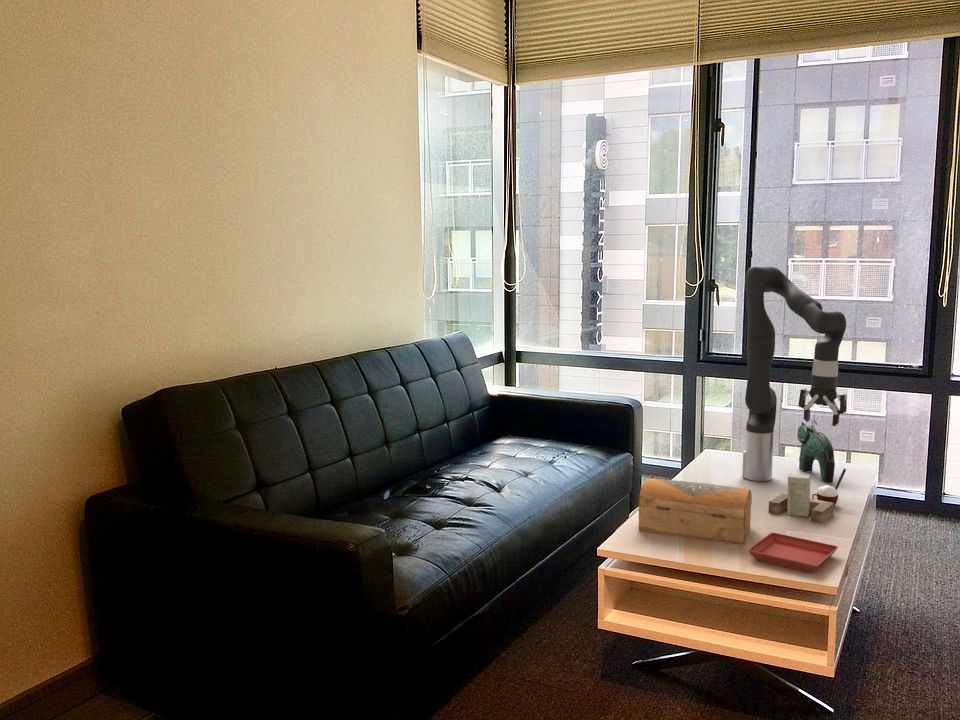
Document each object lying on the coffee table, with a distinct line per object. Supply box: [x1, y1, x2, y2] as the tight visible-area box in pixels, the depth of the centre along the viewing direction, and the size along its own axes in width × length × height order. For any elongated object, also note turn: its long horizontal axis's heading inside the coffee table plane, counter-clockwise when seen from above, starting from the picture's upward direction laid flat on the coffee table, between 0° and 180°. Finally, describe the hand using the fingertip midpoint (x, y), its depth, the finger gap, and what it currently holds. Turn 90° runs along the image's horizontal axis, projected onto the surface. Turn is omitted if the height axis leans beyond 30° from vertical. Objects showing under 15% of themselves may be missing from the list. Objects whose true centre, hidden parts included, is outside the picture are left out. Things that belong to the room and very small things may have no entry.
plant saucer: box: [747, 532, 839, 574], centre depth 216 cm, size 18×18×3 cm
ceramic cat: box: [796, 419, 836, 484], centre depth 292 cm, size 20×6×20 cm, turn 6°
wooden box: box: [638, 477, 753, 546], centre depth 238 cm, size 30×16×14 cm, turn 65°
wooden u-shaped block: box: [768, 493, 835, 524], centre depth 252 cm, size 16×11×4 cm
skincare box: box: [786, 473, 811, 518], centre depth 251 cm, size 6×4×12 cm
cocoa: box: [811, 467, 847, 506], centre depth 259 cm, size 10×6×12 cm, turn 55°
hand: (820, 423), depth 262 cm, fingers open, 8 cm apart
